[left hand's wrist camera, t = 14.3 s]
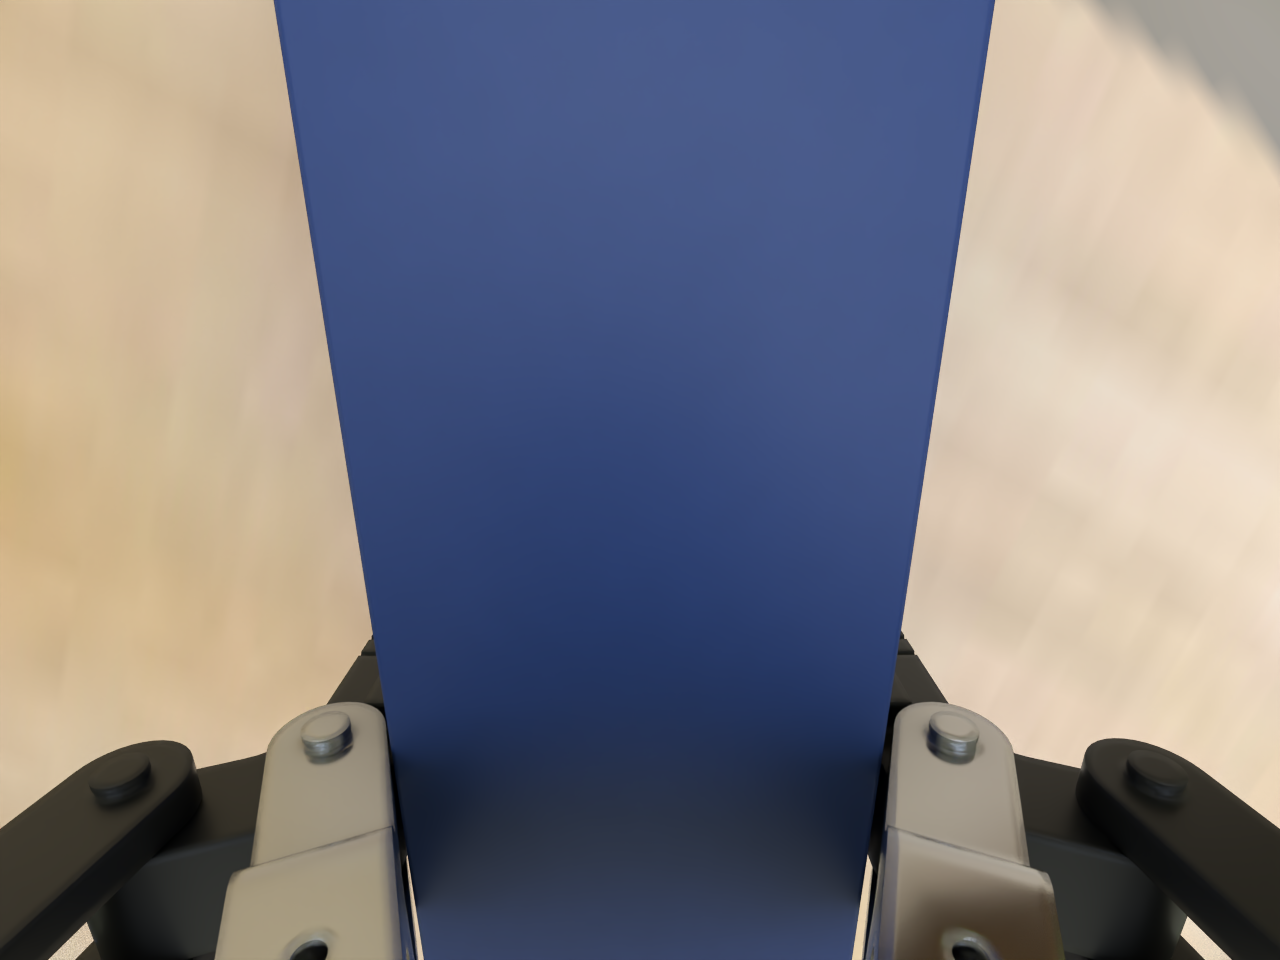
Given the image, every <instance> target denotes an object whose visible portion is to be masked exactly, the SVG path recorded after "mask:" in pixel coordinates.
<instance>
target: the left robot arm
mask: <svg viewBox="0 0 1280 960" xmlns="http://www.w3.org/2000/svg"><path fill="white" fill-rule="evenodd" d="M868 856H869V859H870V861H871V864H872V871H871V877H870V885H869V895H868V904H867V914H866V923H865V933H864V943H863V952H862V960H1204V959H1203V958H1202V956H1201V955H1200V954H1199V953H1198V952H1197V951H1196V950H1195V949H1194V948H1193V947H1192V946H1191V945H1190V944H1189V943H1188V942H1187V941H1186V940H1185V939H1184V938H1183V937H1182V936H1181V935H1180V934H1181V932H1182V929H1183V927H1184V924H1185V921H1186V919H1187V916H1188V917H1189V918H1190V919H1191V920H1192V921H1193V922H1194V923H1195V924H1196V925H1197V926H1198V927H1199V928H1200V929H1201V930H1202V931H1203V932H1204V933H1205V934H1206V935H1207V936H1208V937H1209V938H1210V939H1211V940H1212V941H1213V942H1215V943H1216V944H1217V945H1218V946H1219V947H1220V948H1221V949H1222V950H1223V951H1224V952H1225V953H1226V954H1227V955H1228V956H1229V957H1230V958H1231V959H1232V960H1280V829H1279V828H1278V827H1276V826H1275V825H1274V824H1272V823H1271V822H1270V821H1269V820H1267V819H1266V818H1265V817H1263V816H1262V815H1261V814H1259V813H1258V812H1257V811H1255V810H1254V809H1253V808H1251V807H1250V806H1249V805H1247V804H1246V803H1245V802H1243V801H1242V800H1241V799H1240V798H1238V797H1237V796H1236V795H1234V794H1233V793H1232V792H1230V791H1229V790H1228V789H1226V788H1225V787H1224V786H1222V785H1221V784H1220V783H1218V782H1217V781H1216V780H1214V779H1213V778H1212V777H1211V776H1209V775H1208V774H1207V773H1205V772H1204V771H1203V770H1201V769H1200V768H1198V767H1197V766H1195V765H1194V764H1192V763H1191V762H1189V761H1187V760H1186V759H1184V758H1182V757H1180V756H1178V755H1176V754H1174V753H1172V752H1170V751H1167V750H1165V749H1162V748H1160V747H1157V746H1154V745H1151V744H1148V743H1144V742H1140V741H1136V740H1130V739H1120V738H1111V739H1103V740H1099V741H1097V742H1095V743H1093V744H1091V745H1090V746H1089V747H1088V748H1087V750H1086V752H1085V755H1084V759H1083V762H1082V766H1081V769H1080V768H1075V767H1071V766H1066V765H1062V764H1057V763H1053V762H1048V761H1044V760H1039V759H1035V758H1030V757H1026V756H1022V755H1018V754H1015V753H1013V749H1012V745H1011V743H1010V742H1009V740H1008V738H1007V737H1006V736H1005V734H1004V733H1003V732H1002V731H1001V730H1000V729H999V728H998V727H997V726H996V725H994V724H993V723H992V722H990V721H989V720H987V719H986V718H984V717H982V716H981V715H979V714H977V713H975V712H973V711H971V710H968V709H965V708H962V707H959V706H956V705H952V704H948V702H947V701H946V699H945V698H944V696H943V694H942V693H941V691H940V690H939V688H938V687H937V685H936V684H935V682H934V681H933V679H932V678H931V676H930V674H929V673H928V671H927V670H926V668H925V667H924V665H923V664H922V662H921V661H920V659H919V657H918V656H917V655H914V650H913V648H912V647H911V645H910V644H909V642H908V641H907V639H904V634H903V633H902V631H901V633H900V640H899V647H898V653H897V660H896V667H895V673H894V680H893V687H892V693H891V700H890V707H889V713H888V720H887V727H886V734H885V740H884V747H883V754H882V760H881V767H880V774H879V780H878V787H877V794H876V801H875V807H874V814H873V821H872V827H871V834H870V841H869V847H868ZM406 857H407V848H406V842H405V835H404V829H403V822H402V816H401V810H400V803H399V797H398V790H397V784H396V778H395V771H394V765H393V759H392V752H391V746H390V739H389V733H388V727H387V720H386V714H385V707H384V701H383V695H382V688H381V682H380V676H379V669H378V663H377V656H376V650H375V644H374V637H373V635H372V639H371V640H369V641H368V642H367V644H366V646H365V647H364V649H363V650H362V652H361V656H358V658H357V659H356V661H355V662H354V664H353V665H352V667H351V668H350V670H349V671H348V673H347V674H346V676H345V677H344V679H343V680H342V682H341V683H340V685H339V687H338V688H337V690H336V691H335V693H334V694H333V696H332V697H331V699H330V700H329V702H328V703H327V705H324V706H321V707H318V708H315V709H312V710H309V711H307V712H305V713H303V714H301V715H299V716H298V717H296V718H294V719H293V720H291V721H290V722H288V723H287V724H286V725H284V726H283V727H282V728H281V729H280V730H279V731H278V732H277V733H276V734H275V736H274V737H273V738H272V740H271V742H270V743H269V745H268V749H267V752H266V753H263V754H260V755H257V756H253V757H250V758H246V759H241V760H237V761H232V762H228V763H223V764H219V765H214V766H210V767H205V768H201V769H196V767H195V763H194V759H193V756H192V753H191V751H190V750H189V749H188V748H187V747H186V746H185V745H183V744H181V743H178V742H174V741H165V740H160V741H148V742H142V743H138V744H133V745H130V746H127V747H123V748H120V749H118V750H115V751H113V752H110V753H108V754H106V755H103V756H101V757H99V758H97V759H95V760H94V761H92V762H90V763H88V764H87V765H85V766H83V767H82V768H81V769H79V770H78V771H76V772H75V773H73V774H72V775H71V776H69V777H68V778H67V779H66V780H64V781H63V782H62V783H60V784H59V785H58V786H56V787H55V788H54V789H52V790H51V791H50V792H48V793H47V794H46V795H44V796H43V797H42V798H40V799H39V800H38V801H37V802H35V803H34V804H33V805H31V806H30V807H29V808H27V809H26V810H25V811H23V812H22V813H21V814H19V815H18V816H17V817H15V818H14V819H13V820H11V821H10V822H9V823H7V824H6V825H5V826H4V827H2V828H1V829H0V960H48V959H49V958H50V957H51V956H52V955H53V954H54V953H55V952H56V951H57V950H58V949H59V948H60V947H61V946H62V945H63V944H64V943H65V942H66V941H68V940H69V939H70V938H71V937H72V936H73V935H74V934H75V933H76V932H77V931H78V930H79V929H80V928H81V927H82V926H83V925H84V924H85V923H86V922H87V924H88V926H89V929H90V931H91V934H92V937H93V939H94V941H93V942H92V943H91V944H90V945H89V946H88V947H87V948H86V949H85V950H84V951H83V952H82V953H81V954H80V955H79V956H78V957H77V959H76V960H418V952H417V943H416V933H415V923H414V914H413V904H412V895H411V885H410V877H409V871H408V864H407V858H406Z"/></svg>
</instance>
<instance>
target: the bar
mask: <svg viewBox="0 0 1280 960" xmlns="http://www.w3.org/2000/svg"><path fill="white" fill-rule="evenodd" d="M994 4H995V0H274V5H275V12H276V18H277V25H278V31H279V37H280V44H281V50H282V56H283V63H284V69H285V76H286V82H287V88H288V95H289V101H290V108H291V114H292V120H293V127H294V133H295V139H296V146H297V152H298V159H299V165H300V171H301V178H302V184H303V190H304V197H305V203H306V210H307V216H308V222H309V229H310V235H311V242H312V248H313V254H314V261H315V267H316V273H317V280H318V286H319V293H320V299H321V305H322V312H323V318H324V325H325V331H326V337H327V344H328V350H329V356H330V363H331V369H332V376H333V382H334V388H335V395H336V401H337V407H338V414H339V420H340V427H341V433H342V439H343V446H344V452H345V459H346V465H347V471H348V478H349V484H350V490H351V497H352V503H353V510H354V516H355V522H356V529H357V535H358V542H359V548H360V554H361V561H362V567H363V573H364V580H365V586H366V593H367V599H368V605H369V612H370V618H371V625H372V631H373V637H374V644H375V650H376V656H377V663H378V669H379V676H380V682H381V688H382V695H383V701H384V707H385V714H386V720H387V727H388V733H389V739H390V746H391V752H392V759H393V765H394V771H395V778H396V784H397V790H398V797H399V803H400V810H401V816H402V822H403V829H404V835H405V842H406V848H407V854H408V861H409V867H410V873H411V880H412V886H413V893H414V899H415V905H416V912H417V918H418V924H419V931H420V937H421V944H422V950H423V956H424V960H852V955H853V948H854V941H855V934H856V928H857V921H858V914H859V908H860V901H861V894H862V888H863V881H864V874H865V867H866V861H867V854H868V847H869V841H870V834H871V827H872V821H873V814H874V807H875V801H876V794H877V787H878V780H879V774H880V767H881V760H882V754H883V747H884V740H885V734H886V727H887V720H888V713H889V707H890V700H891V693H892V687H893V680H894V673H895V667H896V660H897V653H898V647H899V640H900V633H901V626H902V620H903V613H904V606H905V600H906V593H907V586H908V580H909V573H910V566H911V559H912V553H913V546H914V539H915V533H916V526H917V519H918V513H919V506H920V499H921V492H922V486H923V479H924V472H925V466H926V459H927V452H928V446H929V439H930V432H931V426H932V419H933V412H934V405H935V399H936V392H937V385H938V379H939V372H940V365H941V359H942V352H943V345H944V338H945V332H946V325H947V318H948V312H949V305H950V298H951V292H952V285H953V278H954V272H955V265H956V258H957V251H958V245H959V238H960V231H961V225H962V218H963V211H964V205H965V198H966V191H967V184H968V178H969V171H970V164H971V158H972V151H973V144H974V138H975V131H976V124H977V118H978V111H979V104H980V97H981V91H982V84H983V77H984V71H985V64H986V57H987V51H988V44H989V37H990V30H991V24H992V17H993V10H994Z"/></svg>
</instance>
